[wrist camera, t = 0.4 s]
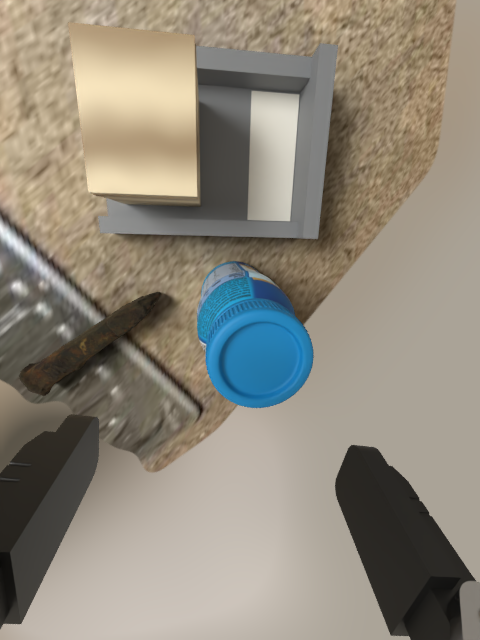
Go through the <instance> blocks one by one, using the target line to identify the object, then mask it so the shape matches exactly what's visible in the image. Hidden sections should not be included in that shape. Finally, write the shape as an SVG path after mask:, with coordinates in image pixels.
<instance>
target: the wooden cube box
mask: <svg viewBox="0 0 480 640" xmlns="http://www.w3.org/2000/svg"><path fill="white" fill-rule="evenodd" d="M68 26H69V34H70V43H71V51H72V59H73V67H74V76H75V84H76V92H77V100H78V109H79V117H80V125H81V134H82V142H83V150H84V158H85V167H86V175H87V183H88V191H89V193H92V194H93V195H96V196H102V197H105V198H108V199H111V200H114V201H117V202H120V203H123V204H133V205H161V206H188V207H201V201H200V129H199V92H198V78H197V58H196V44H195V35H188V34H178V33H168V32H158V31H149V30H139V29H129V28H119V27H109V26H99V25H89V24H79V23H69V22H68Z"/></svg>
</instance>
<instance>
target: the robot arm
mask: <svg viewBox="0 0 480 640" xmlns="http://www.w3.org/2000/svg"><path fill="white" fill-rule="evenodd" d="M98 456H99V419H98V418H97V417H91V416H81V415H72V414H71V415H69V416H68V417H67V418H66V419H65V421H64V422H63V423H62V424H61V426H60V427H59V428H58V430H57V431H56V432H47V431H45V432H43V433H41V434H40V435H38V436H37V437H35V438H34V439H33V440H31V441H30V442H28V443H27V444H25V445H24V446H23V447H22V449H21V450H20V451H19V452H18V453H17V454H16V456H15V457H14V458H13V459H12V461H11V462H10V464H9V466H8V465H7V466H6V467H5V469H4V470H3V471H2V472H1V473H0V629H1V627H2V625H3V624H21V623H22V621H23V619H24V617H25V615H26V613H27V611H28V609H29V607H30V605H31V603H32V601H33V599H34V597H35V595H36V593H37V591H38V588H39V587H40V584H41V582H42V580H43V578H44V576H45V574H46V572H47V570H48V568H49V566H50V564H51V562H52V560H53V558H54V556H55V554H56V552H57V550H58V548H59V546H60V543H61V542H62V539H63V537H64V535H65V533H66V531H67V529H68V527H69V525H70V523H71V521H72V519H73V517H74V515H75V513H76V511H77V509H78V507H79V505H80V502H81V501H82V499H83V497H84V495H85V493H86V490H87V488H88V486H89V484H90V482H91V480H92V478H93V476H94V473H95V470H96V467H97V462H98ZM335 490H336V496H337V500H338V502H339V505H340V507H341V510H342V512H343V515H344V518H345V520H346V522H347V525H348V528H349V530H350V533H351V535H352V538H353V540H354V543H355V546H356V548H357V551H358V553H359V555H360V558H361V561H362V563H363V566H364V568H365V571H366V573H367V576H368V579H369V581H370V584H371V586H372V589H373V591H374V594H375V596H376V599H377V601H378V604H379V607H380V609H381V612H382V614H383V617H384V619H385V622H386V624H387V627H388V629H389V632H390V634H391V635H392V636H393V635H394V636H409V637H410V639H411V640H480V583H479V582H476V580H475V579H474V577H473V576H472V575H471V573H470V572H469V570H468V569H467V568H466V566H465V564H464V563H463V562H462V560H461V559H460V557H459V556H458V554H457V553H456V551H455V550H454V548H453V547H452V545H451V544H450V542H449V541H448V539H447V538H446V537H445V535H444V534H443V532H442V531H441V529H440V528H439V526H438V525H437V523H436V522H435V521H434V519H433V517H432V516H430V515H429V512H428V510H427V509H426V507H425V506H424V504H423V503H422V502H421V501H419V497H418V495H417V494H416V492H415V491H414V490H413V488H412V487H411V485H410V484H409V482H408V481H407V480H406V479H405V478H404V477H403V476H402V475H401V474H400V473H399V472H398V471H397V470H395V469H394V468H393V467H392V466H389V465H388V464H387V462H386V461H385V459H384V458H383V456H382V455H381V453H380V452H379V450H378V449H376V448H374V447H367V446H357V445H351V446H350V447H349V448H348V451H347V453H346V455H345V458H344V460H343V463H342V465H341V468H340V470H339V473H338V475H337V478H336V483H335Z"/></svg>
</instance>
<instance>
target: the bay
mask: <svg viewBox="0 0 480 640" xmlns="http://www.w3.org/2000/svg"><path fill="white" fill-rule="evenodd" d="M337 49H338V45H331V44H321V43H320V44H319V46H318V48H317V49H316V51H315V53H314V54H313V56H312V57H307V56H296V55H286V54H276V53H266V52H255V51H245V50H235V49H224V48H214V47H204V46H196V58H197V78H198V92H199V129H200V201H201V207H188V206H161V205H133V204H123V203H120V202H117V201H114V200H111V199H108V198H106V199H107V209H108V216H98V218H99V227H100V233H119V234H158V235H197V236H236V237H275V238H302V239H318V233H319V223H320V214H321V204H322V194H323V185H324V175H325V165H326V156H327V146H328V136H329V127H330V117H331V107H332V98H333V88H334V78H335V69H336V59H337Z"/></svg>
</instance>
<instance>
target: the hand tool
mask: <svg viewBox="0 0 480 640" xmlns="http://www.w3.org/2000/svg"><path fill="white" fill-rule="evenodd" d="M160 295H161V293H160V292H156V293H152V294H149V295H147V296H142V297H140V298H138V299H136V300H134V301H132V302H131V303H128V304H126V305H125V306H122V307H121V308H120V309H119V310H117V311H115V312H114V313H112V314H111V315H110V316H108V317H107V318H105V319H104V320H102V321H100V322H99V323H97V324H96V325H94V326H93V327H91V328H90V329H88V330H87V331H85V332H84V333H82V334H81V335H79V336H78V337H76V338H75V339H73V340H72V341H70V342H68V343H67V344H65V345H63V346H62V347H61V348H59V349H58V350H57V351H55V352H54V353H52V354H51V355H50V356H48V357H47V358H45V359H43V360H42V361H41V362H39V363H38V364H29V365H28V366H27V367H25V368H24V369H22V371H21V373H20V374H19V377H20V380H21V382H22V383H23V384H24V385H25V386H26V387H27V389H28V390H29V391H30V392H34V393H37V394H39V395H42V396H45V395H46V394H48V393H49V392H50V390H51V388H52V386H53V385H54V384H55V383H56V382H58V381H60V380H61V379H62V378H63V377H64V376H66V375H68V374H70V373H72V372H74V371H75V370H79V369H81V368H82V367H83V365H84V364H85V362H86V361H87V360H88V359H89V358H91V357H92V356H94V355H95V354H97V353H98V352H99V351H100V350H102V349H103V348H104V347H106V346H107V345H108V344H110V343H111V342H113V341H114V340H116V339H117V338H119V337H120V336H122V335H124V334H125V333H126V332H128V331H130V330H131V329H132V328H133V327H135V326H136V325H137V324H138V323H139V322H140V321H141V320H142V319H143V318H144V317H145V316H146V315H147V314H148V313H149V312H150V310H151V309H152V308H153V307H154V303H155V302H156V301H157V299H158V298H159V296H160Z"/></svg>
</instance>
